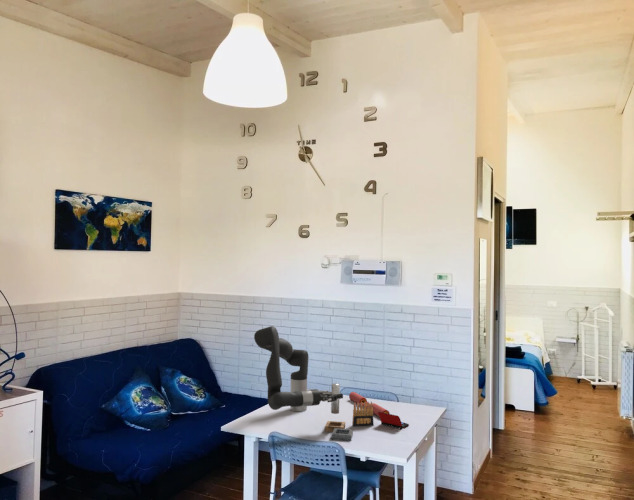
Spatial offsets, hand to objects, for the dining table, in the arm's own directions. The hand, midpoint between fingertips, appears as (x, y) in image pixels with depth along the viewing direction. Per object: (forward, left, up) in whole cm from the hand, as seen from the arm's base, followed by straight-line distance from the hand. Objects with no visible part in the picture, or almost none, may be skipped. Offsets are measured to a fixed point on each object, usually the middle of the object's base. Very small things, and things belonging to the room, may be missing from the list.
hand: (340, 394), depth 269 cm
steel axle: (+2, -2, -8) cm, 9 cm away
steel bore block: (+12, +3, -17) cm, 21 cm away
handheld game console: (-10, +26, -17) cm, 33 cm away
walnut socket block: (+1, -2, -17) cm, 17 cm away
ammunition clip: (-8, +11, -17) cm, 21 cm away
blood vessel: (-40, +11, -17) cm, 45 cm away
